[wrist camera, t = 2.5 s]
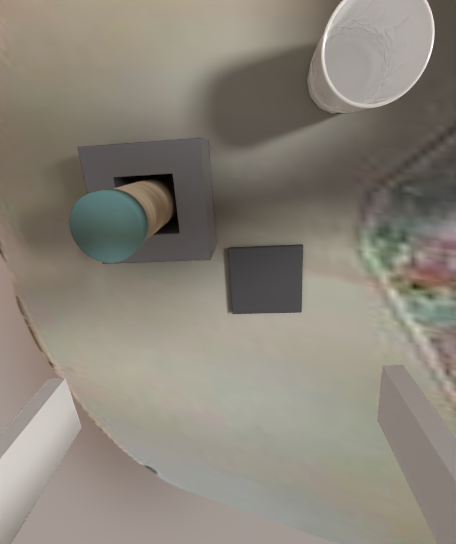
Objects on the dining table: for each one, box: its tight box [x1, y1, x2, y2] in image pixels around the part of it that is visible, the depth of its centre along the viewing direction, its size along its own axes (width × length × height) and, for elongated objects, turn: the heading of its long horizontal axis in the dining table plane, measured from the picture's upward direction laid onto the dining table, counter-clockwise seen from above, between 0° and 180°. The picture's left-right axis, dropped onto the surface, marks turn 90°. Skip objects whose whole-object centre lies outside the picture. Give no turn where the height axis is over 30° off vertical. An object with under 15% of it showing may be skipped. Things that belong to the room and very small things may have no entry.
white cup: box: [307, 0, 435, 114], centre depth 27 cm, size 8×8×10 cm
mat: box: [228, 245, 303, 314], centre depth 40 cm, size 9×9×1 cm
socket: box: [78, 138, 216, 264], centre depth 35 cm, size 12×12×6 cm
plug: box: [70, 176, 177, 263], centre depth 30 cm, size 5×5×16 cm
